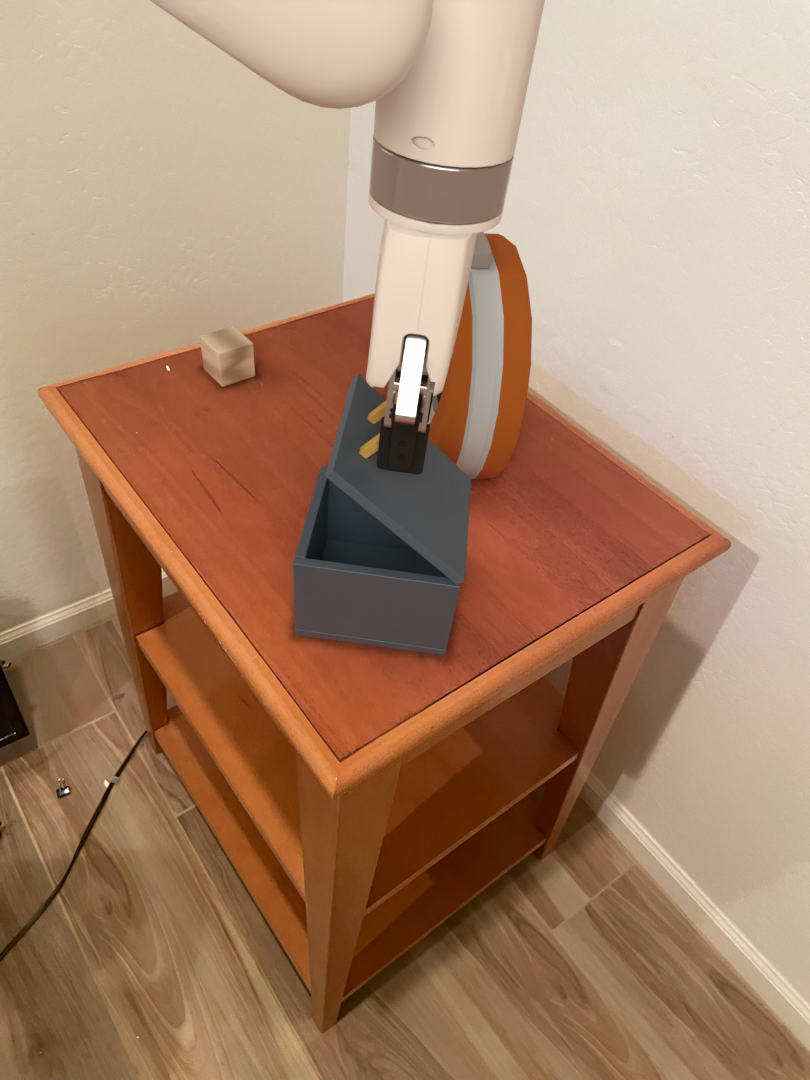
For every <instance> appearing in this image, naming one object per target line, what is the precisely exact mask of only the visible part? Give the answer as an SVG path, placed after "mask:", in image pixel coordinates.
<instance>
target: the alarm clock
mask: <svg viewBox="0 0 810 1080" xmlns="http://www.w3.org/2000/svg"><path fill="white" fill-rule="evenodd" d="M527 276H528V275H527V273H526V270H525V267H524V264H523V262H522V259H521V257H520V253H519V251H518V248H517V246H516V244H514V243H513V242H512V241H510V240H509V239H508V238H507V237H506V236H504V235H502V234H500V233H489V232H488V233H484V232H480V233H477V237H476V242H475V248H474V253H473V259H472V264H471V269H470V274H469V280H468V285H467V290H466V295H465V300H464V305H463V310H462V314H461V319H460V324H459V328H458V332H457V336H456V341H455V345H454V349H453V353H452V357H451V361H450V365H449V369H448V373H447V377H446V380H445V384H444V388H443V391H442V392H441V393H439V394H438V395H436V396H433V399H432V405H431V411H430V417H429V422H428V423H427V424H430V430H429V436H428V439H429V440H430V441H431V442H432V443H433V444H434V445H435V446H436V447H437V448H439V449H440V450H441V451H442V452H443V453H444V454H445V455H446V456H447V457H448V458H449V459H450V460H451V461H452V462H453V463H455V464H456V465H457V466H458V467H459V468H460V469H461V470H462V471H463V472H464V473H465V474H466V475H467V476H468V477H469V478H470V479H471V480H483V479H485V480H486V479H495V478H497V477H499V476H500V475H501V474H502V473H503V472H504V471H505V469H506V468H507V467H508V465H509V463H510V460H511V458H512V456H513V454H514V451H515V449H516V447H517V444H518V440H519V436H520V432H521V427H522V424H523V419H524V416H525V411H526V407H527V399H528V391H529V384H530V375H531V367H532V340H533V339H532V338H533V337H532V336H533V335H532V334H533V333H532V332H533V315H532V308H531V300H530V292H529V283H528V277H527ZM388 383H389V381H388V382H387V384H388ZM387 394H388V385H386V392H385V397H384V398H385V399H386V400H387Z"/></svg>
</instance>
